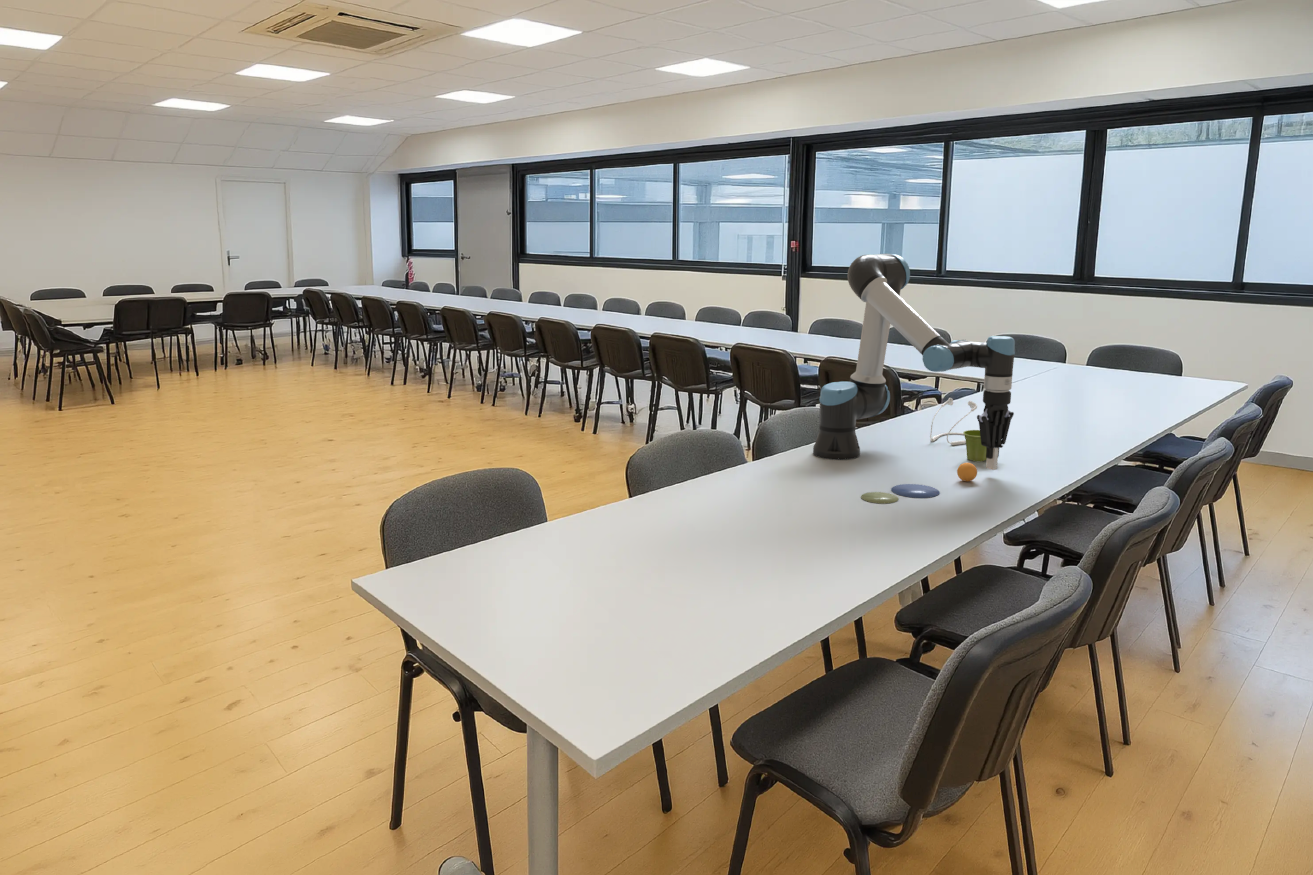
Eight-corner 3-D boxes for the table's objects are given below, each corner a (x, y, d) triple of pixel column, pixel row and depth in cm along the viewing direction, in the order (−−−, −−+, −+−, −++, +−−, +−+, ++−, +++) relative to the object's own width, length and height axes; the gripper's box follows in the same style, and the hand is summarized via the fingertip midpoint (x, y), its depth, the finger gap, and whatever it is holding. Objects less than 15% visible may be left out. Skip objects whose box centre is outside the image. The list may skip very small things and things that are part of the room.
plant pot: (995, 463, 267) (997, 436, 265) (963, 462, 269) (965, 435, 267) (990, 456, 276) (992, 430, 274) (959, 455, 278) (961, 429, 276)
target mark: (881, 488, 242) (881, 488, 242) (915, 482, 248) (915, 481, 248) (914, 500, 231) (914, 499, 231) (949, 493, 237) (949, 492, 237)
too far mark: (853, 496, 236) (853, 495, 236) (881, 490, 240) (881, 490, 240) (878, 505, 227) (878, 504, 227) (906, 500, 232) (906, 499, 232)
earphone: (918, 431, 295) (942, 393, 301) (933, 461, 305) (956, 424, 311) (954, 437, 285) (978, 398, 291) (968, 468, 295) (991, 429, 301)
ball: (952, 480, 250) (953, 462, 248) (965, 477, 252) (967, 459, 251) (967, 484, 245) (968, 466, 244) (980, 482, 247) (982, 463, 246)
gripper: (991, 394, 241) (985, 474, 246) (1023, 389, 247) (1017, 468, 252) (971, 390, 247) (965, 468, 253) (1002, 386, 253) (996, 462, 259)
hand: (991, 468), depth 253 cm, fingers closed
